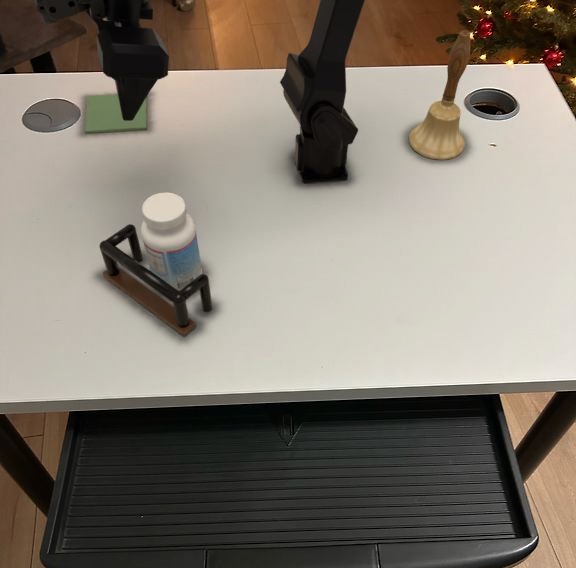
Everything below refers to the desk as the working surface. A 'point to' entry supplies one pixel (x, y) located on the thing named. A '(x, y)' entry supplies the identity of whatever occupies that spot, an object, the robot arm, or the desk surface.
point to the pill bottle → (170, 240)
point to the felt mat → (111, 115)
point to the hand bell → (444, 111)
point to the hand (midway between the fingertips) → (120, 96)
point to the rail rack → (151, 282)
